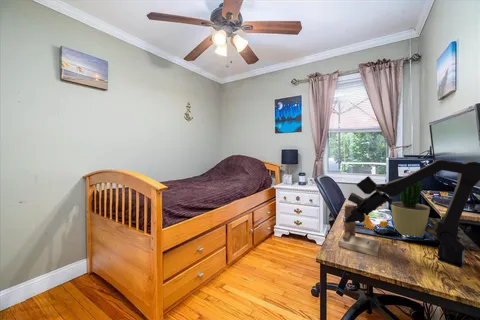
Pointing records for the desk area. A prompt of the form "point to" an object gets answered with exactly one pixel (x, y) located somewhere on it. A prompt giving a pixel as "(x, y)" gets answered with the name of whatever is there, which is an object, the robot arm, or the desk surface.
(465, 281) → the desk surface
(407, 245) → the desk surface
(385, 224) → the pipe clamp
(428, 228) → the eagle figurine
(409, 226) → the potted cactus
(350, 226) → the tan upright block
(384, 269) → the desk surface
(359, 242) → the pine board
